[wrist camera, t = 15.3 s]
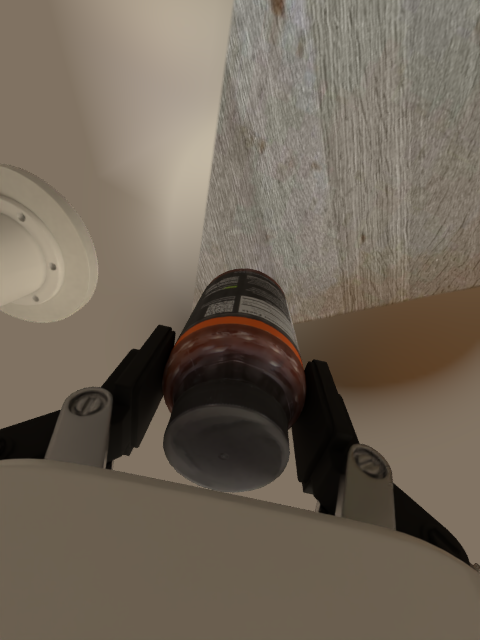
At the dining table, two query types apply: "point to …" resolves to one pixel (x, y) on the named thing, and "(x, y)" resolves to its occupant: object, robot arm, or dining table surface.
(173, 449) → the supplement bottle
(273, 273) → the dining table surface
